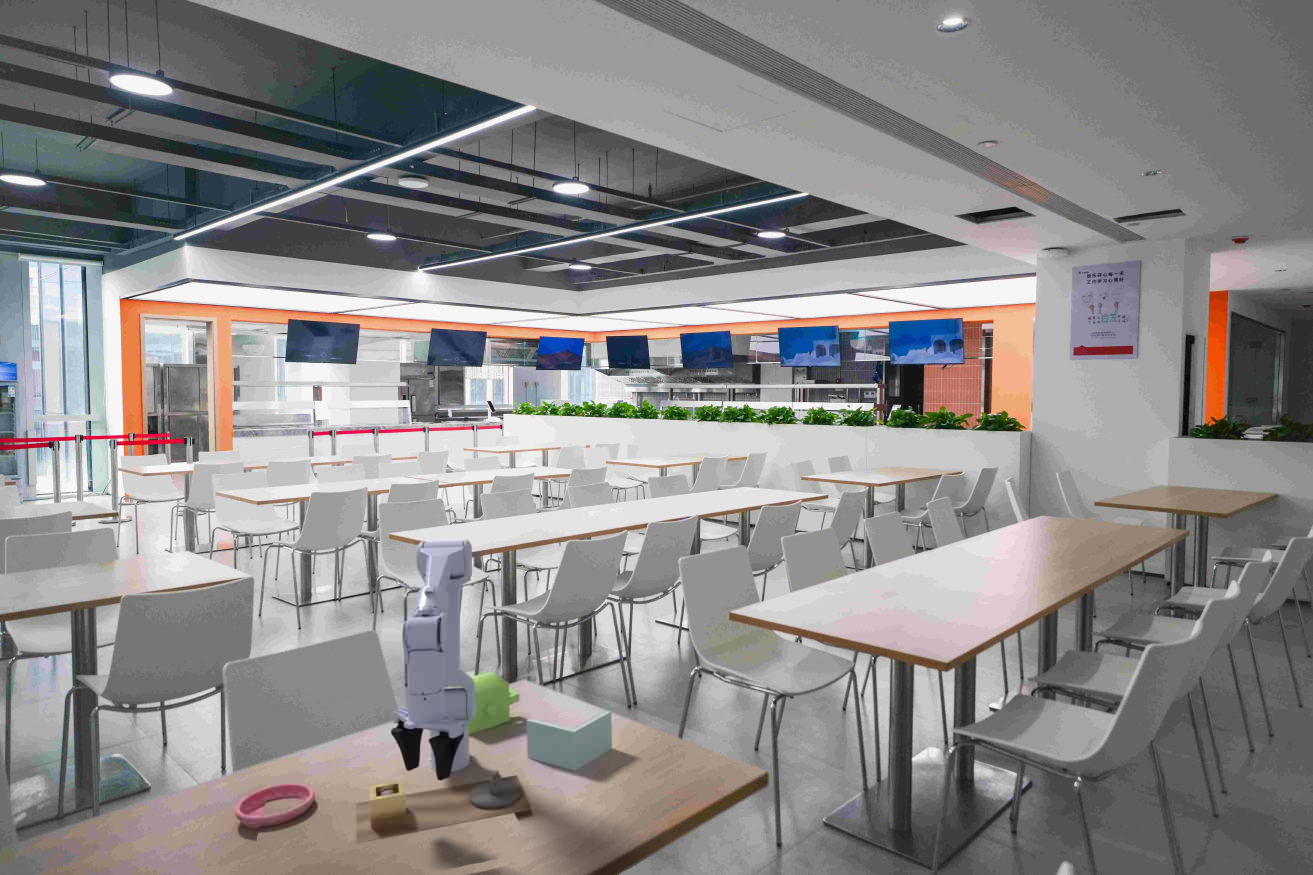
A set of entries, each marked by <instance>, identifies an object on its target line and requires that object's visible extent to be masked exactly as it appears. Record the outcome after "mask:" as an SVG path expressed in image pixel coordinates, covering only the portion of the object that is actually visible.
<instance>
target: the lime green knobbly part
mask: <svg viewBox="0 0 1313 875" xmlns="http://www.w3.org/2000/svg"><path fill="white" fill-rule="evenodd" d="M470 677H471V678H472V679H473V681H474V685H475V695H476V710H475V717H474V718H473V719H472V721H469V722H468V729H469V735H470V734H475V733H478V732H481V731H485V730H488V729H491V728H493V727H497V726H500V725H502V724H506V723H507V722H509V721H510V720H511V719H510V715H511V714H510V706H511V705H513V704H515V703H519V702H520V693H519V692H517V691H515V690H513V689H512V688H510V683H509V682H508V681H507V680H505V679H504V678H502V677H501V676H499V675H497V674H496V673H493V672H489V671H488V672H486V673H482V674H477V675H473V676H470ZM451 688H463V687H459V686H457V687H447V689H451Z"/></svg>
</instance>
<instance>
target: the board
mask: <svg viewBox="0 0 1313 875" xmlns="http://www.w3.org/2000/svg"><path fill="white" fill-rule="evenodd" d="M389 794H394V791H392V790H387V791H384V792H382V793H381V796H383V795H389ZM510 814H514V815H515V817H516V818H517V819H520V818H524V817H527V816H528V817H529V816H533V808H532V805H531V804H530V801H529V799H528V797H527V794H526V792H525V790H524V788H523V785H522V783H521V781H520V779H519V777H518V775H511V776H505V777H502V774H500V771H497V770H495V771H492V772H491V773H490V775H489V779H487V780H482V781H476V782H471V783H464V784H460V785H458V784H457V785H453V786H447V787H442V788H437V789H430V790H425V791H419V792H413V793H407V794H406V819H407V821H403V822H398V823H392V824H387V825H382V826H376V827H371V817H370V800H368V801H363V802H356V844H360V843H365V842H368V841H369V842H370V841H375V840H381V839H385V838H386V839H387V838H391V837H395V836H401V835H406V834H413V833H417V832H422V831H428V830H432V829H436V828H442V827H448V826H452V825H459V824H464V823H469V822H474V821H481V820H485V819H488V818H489V819H490V818H495V817H500V816H507V815H510Z"/></svg>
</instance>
